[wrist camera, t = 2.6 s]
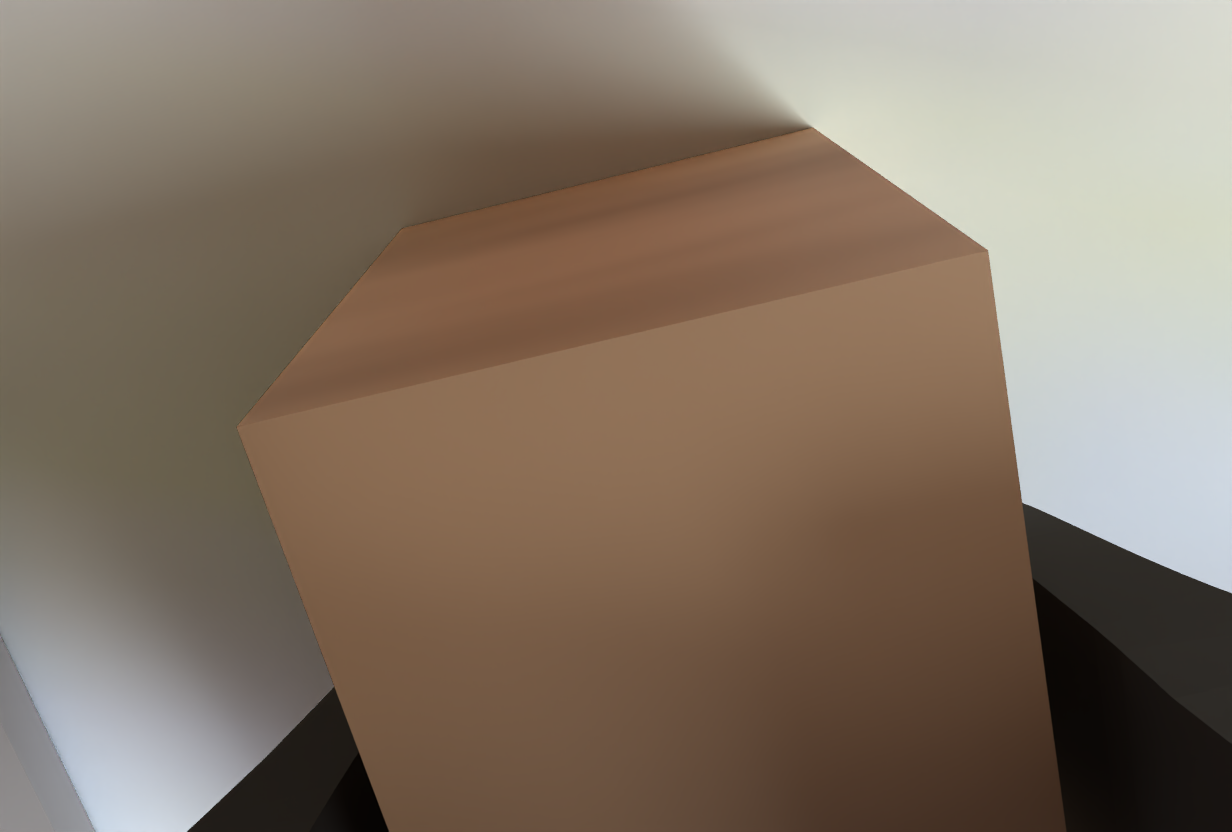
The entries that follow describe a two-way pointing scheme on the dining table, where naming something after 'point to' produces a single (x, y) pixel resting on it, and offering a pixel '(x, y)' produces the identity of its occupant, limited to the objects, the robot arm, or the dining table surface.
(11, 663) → the jig
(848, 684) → the brown cardboard box
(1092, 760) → the robot arm
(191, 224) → the dining table surface
